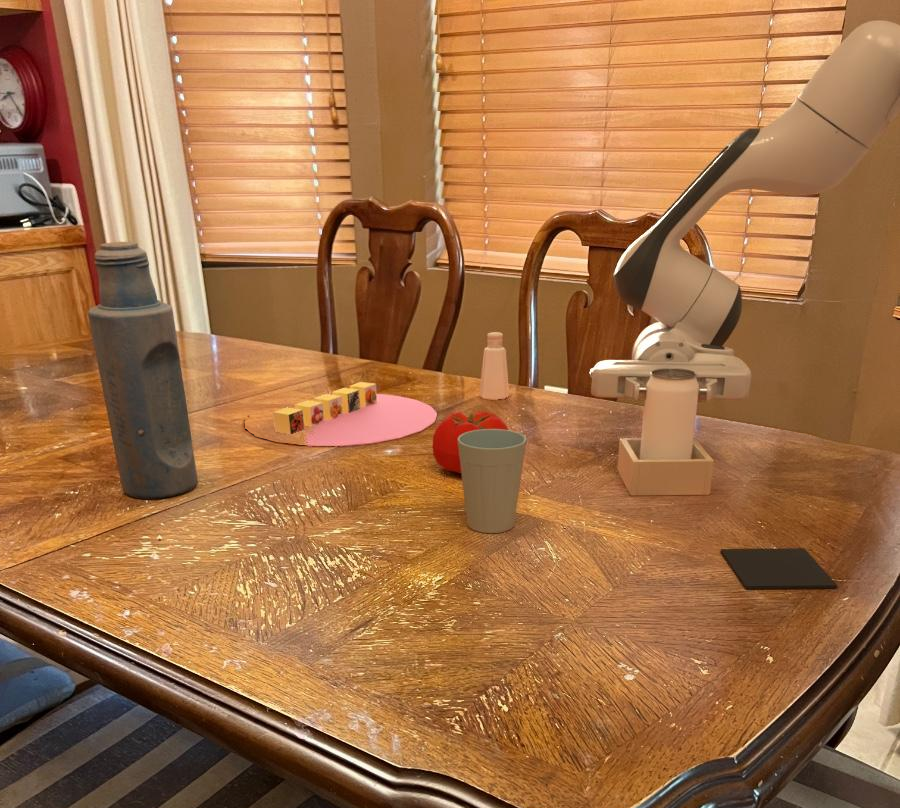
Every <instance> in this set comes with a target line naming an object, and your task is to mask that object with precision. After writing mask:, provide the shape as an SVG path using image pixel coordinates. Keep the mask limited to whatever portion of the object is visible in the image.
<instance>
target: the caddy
mask: <svg viewBox="0 0 900 808" xmlns="http://www.w3.org/2000/svg"><path fill="white" fill-rule="evenodd" d="M640 449H641V437H619V442H618V453H617V454H618V456H617V466H616V467H617V468H616V471H617V473H618V474H619V477H620V478H621V480H622V483H623V484H624V486H625V488H626V490H627V491H628V493H629V496H631V497H634V496H637V497H640V496H641V497H642V496H643V497H644V496H645V497H646V496H649V497H650V496H710V495H711V488H712V482H713V481H712V480H713V473H714V467H715V466H714V464H715V460H714V459H713V458H712V456H711V455H710V454H709V453H708V451H706V449H704V447H703V446H702V445H701V444H700V442H699V441H698V440H697V439H696V438H695V437H694V438H693V446H692V455H691V459H666V460H640Z"/></svg>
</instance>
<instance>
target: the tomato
mask: <svg viewBox="0 0 900 808" xmlns="http://www.w3.org/2000/svg"><path fill="white" fill-rule="evenodd" d="M481 429H503V430H509V427H508V426H507V424H506V423H505V422H504V421H503V419H502V418H500V417H499V416H498V415H497V414H496V413H493V412H491V411H485V410H482V411H477V412H475V413H473V412H470V414H469V416H466V415H465V414H463V413H462V412H461V411H456V412H453V413H451V414H449V415H448V416H446V418H445V419H444V420H442V421H441V422H440V424H438V425H437V426H436V427H435V430H434V432H433V435H432V454H433V457H434V460H435V461H436V463H437V464H438V465H440V466H441V468H443V469H444V470H445V471H448V472H455V473H458V474H461V475H462V473H461V464H460V456H459V448H458V437H459V436H460V435H461V434H463V433H466V432H469V431H474V430H481Z"/></svg>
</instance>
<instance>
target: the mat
mask: <svg viewBox="0 0 900 808" xmlns="http://www.w3.org/2000/svg"><path fill="white" fill-rule="evenodd" d="M720 554H721V555H722V557H723V558H724V560H725V561H726V562H727V564H728V566H729V567H730V569H731V570H732V572H733V573H734V574H735V576H736V577H737V579H738V581H739V582H740V583H741V585H742V586H743V588H744V589H745V590H815V589H816V590H818V589H819V590H826V589H827V590H829V589H831V590H832V589H833V590H834V589H836V590H837V588H838V584H837V583H836V582H835V581H834V580H833V579H832V577H831V576H830V575H829V574H828V573H827V572H826V570H825V569H823V567H822V566H821V565H820V564H819V563H818V561H817V560H815V559H814V557H813V556H812V555H811V554H810V553H809V551H808V550H807V549H806V548H805V547H792V548H791V547H790V548H789V547H787V548H785V547H783V548H782V547H781V548H720Z"/></svg>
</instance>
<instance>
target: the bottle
mask: <svg viewBox="0 0 900 808" xmlns="http://www.w3.org/2000/svg"><path fill="white" fill-rule="evenodd" d="M94 265H95V266H96V267H95V268H96V271H97V276H98V291H99V292H98V294H99V301H100V303H99V304H98V305H95V306H92V307H91V308H89V309H88V311H87V316H88V323H89V330H90V335H91V339H92V343H93V344H92V345H93V348H94V352H95V357H96V363H97V368H98V372H99V373H98V374H99V377H100V382H101V388H102V394H103V398H104V399H103V400H104V403H105V407H106V413H107V418H108V424H109V428H110V434H111V440H112V444H113V445H112V446H113V450H114V455H115V459H116V464H117V469H118V474H119V479H120V484H121V489H122V492H123V493H124V494H126V495H127V496H130V497H132V498H136V499H143V500H145V499H146V500H157V499H158V500H159V499H165V498H171V496H172V497H176V495H177V496H180V495H183V494H185V493H188V492H190V491H192V490H193V489H194V488H195V487H196V486H197V485H198V481H199V480H198V473H197V467H196V460H195V459H196V458H195V454H194V446H193V440H192V439H193V438H192V432H191V426H190V419H189V411H188V405H187V404H188V403H187V398H186V397H187V396H186V391H185V384H184V379H183V378H184V377H183V372H182V371H183V370H182V366H181V365H182V364H181V358H180V351H179V343H178V337H177V329H176V324H175V317H174V311H173V307H172V306H171V305H170V304H169V303H166V302H162V301H161V300H159V299H158V296H157V295H158V294H157V291H156V288H155V285H154V282H153V279H152V275H151V272H150V261H149V257H148V254H147V252H146V250H145V249H143V248H141V247H139V244H138V243H137V242H135V241H115V242H114V241H113V242H105V243H104V242H103V243H102V244H100V249H98V251H96V252H95V253H94ZM179 494H180V495H179Z"/></svg>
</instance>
